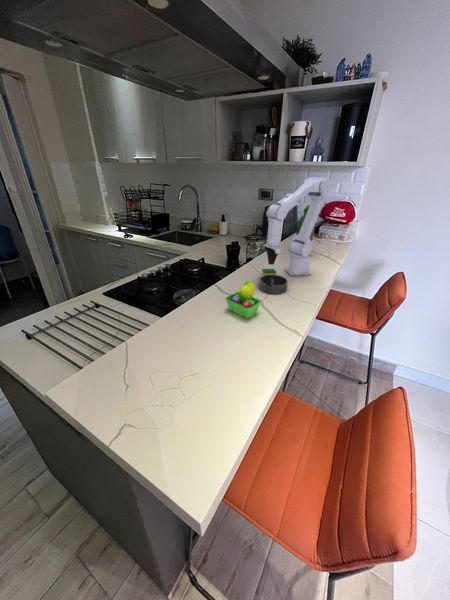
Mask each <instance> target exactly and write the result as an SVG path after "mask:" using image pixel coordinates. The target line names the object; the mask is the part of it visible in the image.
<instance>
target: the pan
mask: <svg viewBox="0 0 450 600" xmlns="http://www.w3.org/2000/svg"><path fill="white" fill-rule="evenodd" d="M258 280H259V281H258V287H259V289H260V291H262V292H264V293H265V294H273V295H275V294H276V295H278V294H283V293H285V292H286V291H287V290H288V285H289V284H288V283H289V281H288V279H287V278H286V277H284V276H283V275H282V276H281V275H279V274H276V275H264V276H262V275H261V277H259V279H258Z"/></svg>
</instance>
